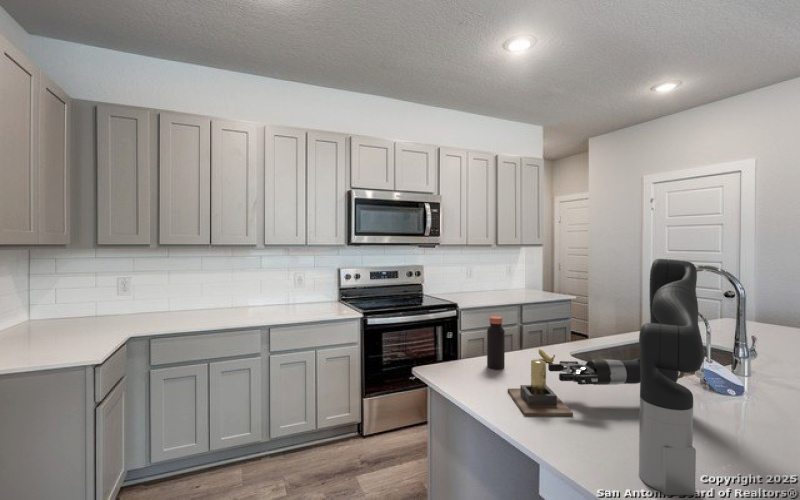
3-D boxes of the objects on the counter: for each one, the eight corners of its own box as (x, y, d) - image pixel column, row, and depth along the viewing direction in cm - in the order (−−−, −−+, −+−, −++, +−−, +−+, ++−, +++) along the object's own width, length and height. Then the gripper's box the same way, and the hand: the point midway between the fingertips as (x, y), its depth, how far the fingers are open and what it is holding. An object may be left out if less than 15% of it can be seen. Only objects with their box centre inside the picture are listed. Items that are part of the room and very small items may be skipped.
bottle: (486, 368, 152) (486, 318, 151) (487, 363, 158) (487, 315, 158) (504, 370, 150) (504, 319, 149) (504, 365, 156) (504, 316, 156)
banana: (536, 358, 165) (536, 348, 165) (541, 357, 166) (541, 348, 166) (551, 365, 156) (551, 355, 156) (556, 364, 156) (556, 355, 156)
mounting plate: (573, 416, 111) (573, 402, 111) (524, 416, 111) (524, 402, 111) (549, 391, 129) (549, 379, 129) (507, 391, 129) (507, 379, 129)
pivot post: (548, 402, 118) (548, 364, 118) (533, 402, 118) (533, 364, 118) (542, 396, 122) (543, 359, 122) (529, 396, 122) (529, 359, 122)
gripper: (594, 353, 127) (545, 353, 127) (618, 367, 112) (563, 368, 113) (594, 375, 127) (545, 376, 127) (618, 393, 113) (563, 393, 113)
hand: (553, 372), depth 120 cm, fingers open, 8 cm apart
